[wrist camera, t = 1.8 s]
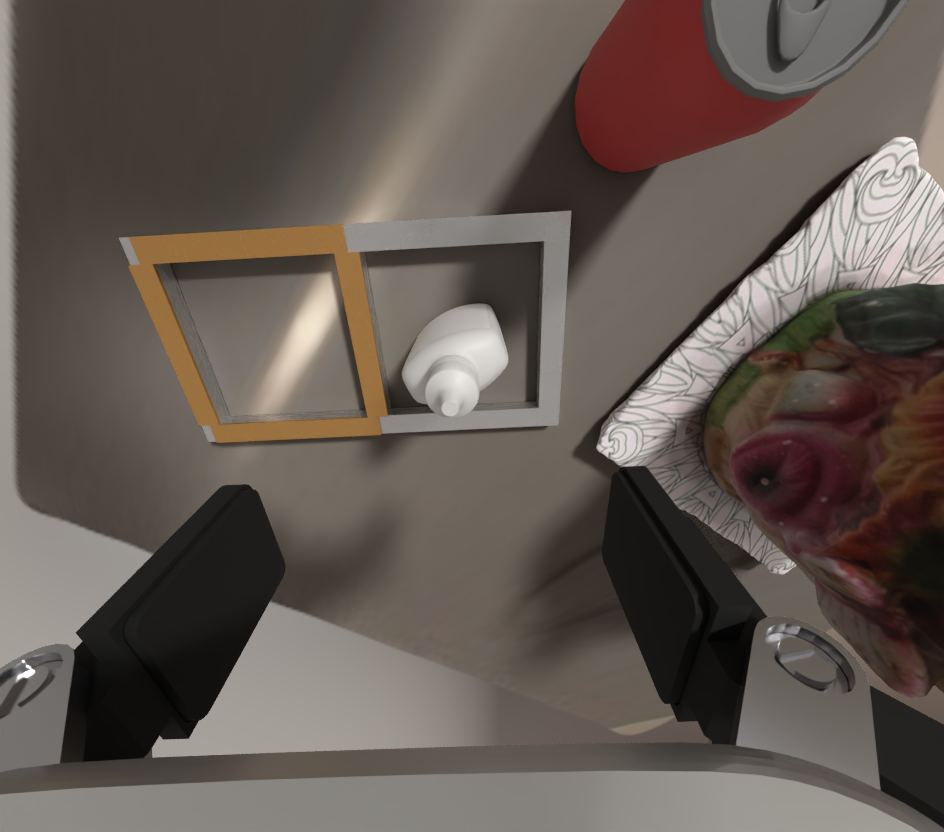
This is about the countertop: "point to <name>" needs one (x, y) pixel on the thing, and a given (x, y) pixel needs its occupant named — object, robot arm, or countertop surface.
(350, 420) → the rail
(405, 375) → the eye dropper bottle
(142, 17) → the countertop surface
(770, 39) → the beer can
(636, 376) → the countertop surface
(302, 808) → the robot arm
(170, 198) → the countertop surface
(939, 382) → the cookie jar
